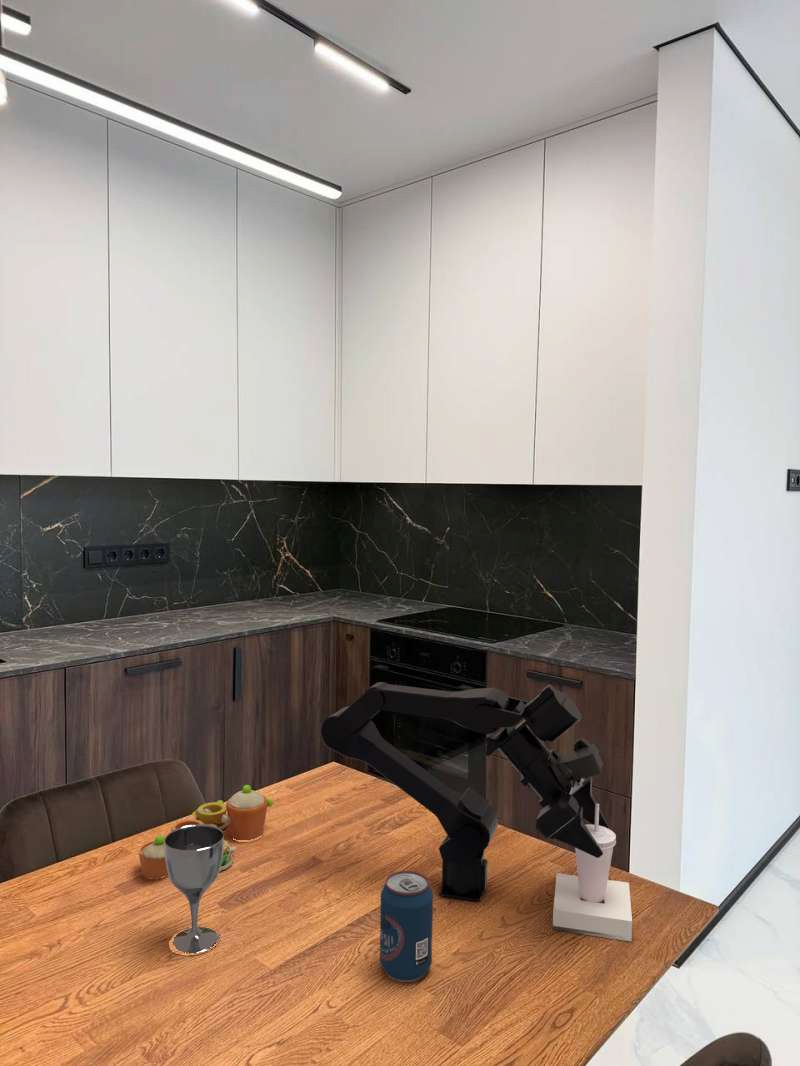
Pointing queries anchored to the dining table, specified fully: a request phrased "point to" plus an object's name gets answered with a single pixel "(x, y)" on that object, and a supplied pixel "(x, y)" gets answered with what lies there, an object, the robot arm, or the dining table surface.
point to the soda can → (406, 926)
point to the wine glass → (194, 876)
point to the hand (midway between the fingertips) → (603, 842)
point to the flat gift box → (592, 910)
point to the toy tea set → (241, 818)
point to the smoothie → (595, 863)
